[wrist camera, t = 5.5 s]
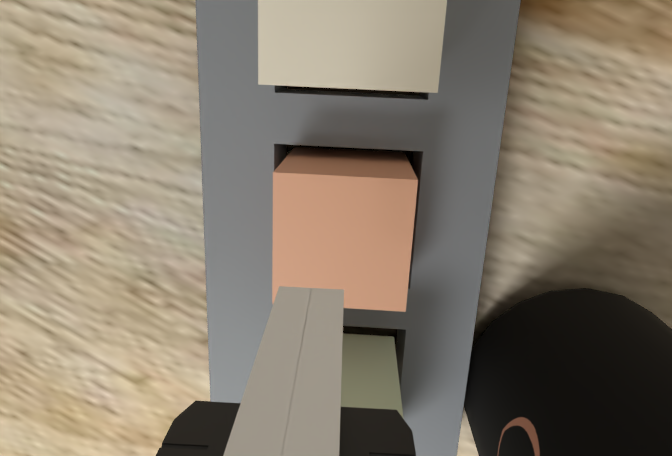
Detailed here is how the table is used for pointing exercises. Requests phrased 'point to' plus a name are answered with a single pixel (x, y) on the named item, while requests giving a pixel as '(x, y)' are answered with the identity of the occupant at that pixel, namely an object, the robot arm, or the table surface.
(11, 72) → the table surface
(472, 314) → the slate panel
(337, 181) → the terracotta button
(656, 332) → the coffee jar
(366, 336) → the sage button
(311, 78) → the cream button
